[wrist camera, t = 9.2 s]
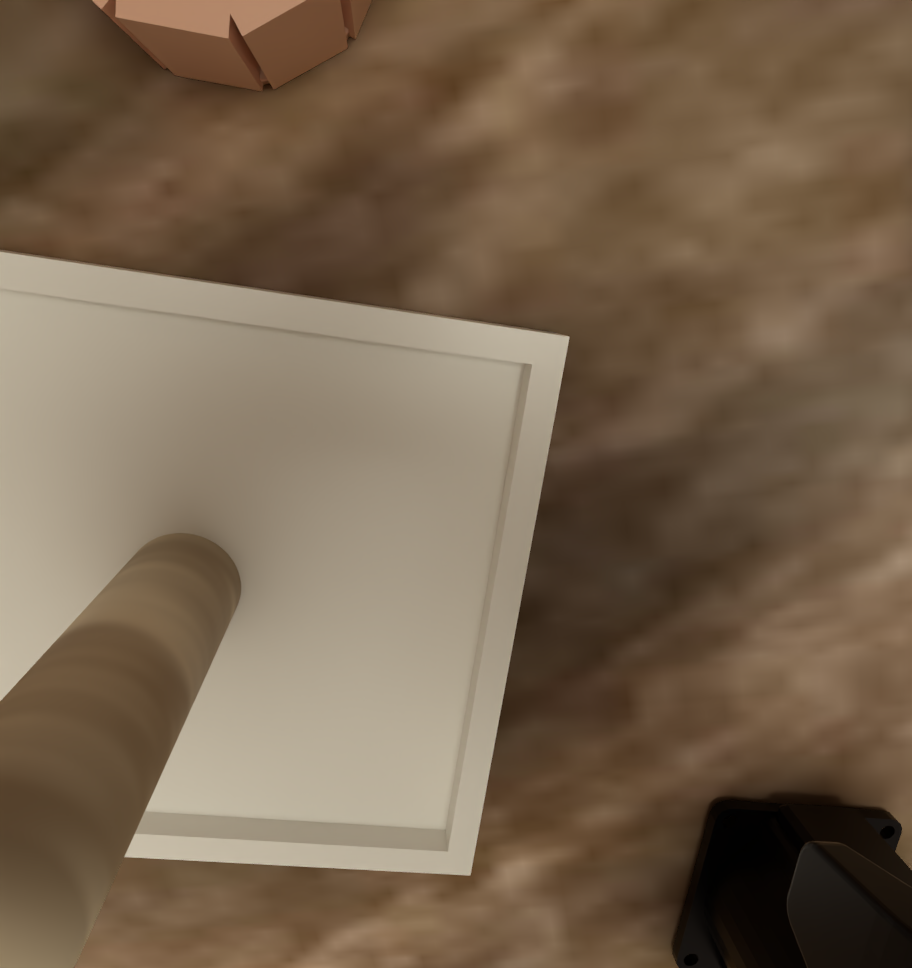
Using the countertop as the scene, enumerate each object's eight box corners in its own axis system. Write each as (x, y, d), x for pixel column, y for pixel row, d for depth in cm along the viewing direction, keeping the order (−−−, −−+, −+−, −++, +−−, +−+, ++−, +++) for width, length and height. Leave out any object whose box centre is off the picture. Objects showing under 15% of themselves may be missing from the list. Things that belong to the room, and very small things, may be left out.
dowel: (236, 641, 20) (81, 1022, 10) (123, 631, 20) (-164, 1016, 10) (245, 539, 20) (87, 834, 9) (128, 527, 19) (-178, 819, 9)
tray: (465, 839, 24) (470, 875, 22) (-150, 802, 21) (-189, 840, 20) (556, 332, 20) (569, 336, 18) (-188, 221, 17) (-239, 216, 16)
